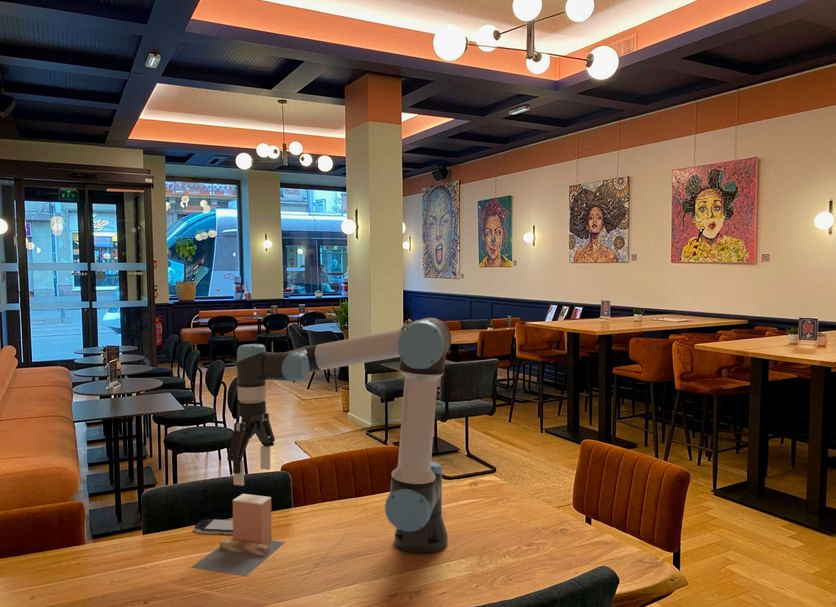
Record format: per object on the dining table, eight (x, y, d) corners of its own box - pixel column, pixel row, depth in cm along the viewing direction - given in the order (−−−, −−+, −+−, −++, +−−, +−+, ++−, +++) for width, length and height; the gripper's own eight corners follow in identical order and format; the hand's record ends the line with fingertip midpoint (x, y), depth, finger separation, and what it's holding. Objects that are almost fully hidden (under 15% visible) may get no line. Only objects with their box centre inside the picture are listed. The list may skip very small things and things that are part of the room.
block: (271, 542, 168) (271, 497, 167) (261, 550, 163) (261, 503, 162) (243, 538, 170) (242, 493, 170) (233, 546, 165) (232, 499, 165)
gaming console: (189, 537, 174) (189, 528, 174) (203, 524, 183) (203, 516, 183) (254, 540, 172) (254, 531, 172) (264, 527, 181) (264, 518, 181)
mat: (285, 545, 168) (285, 542, 168) (246, 579, 149) (246, 576, 149) (235, 537, 173) (235, 535, 173) (191, 570, 153) (191, 567, 153)
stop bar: (269, 552, 162) (269, 545, 162) (265, 555, 160) (265, 548, 160) (224, 545, 166) (224, 538, 166) (220, 549, 164) (219, 541, 164)
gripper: (263, 391, 178) (264, 462, 179) (212, 409, 154) (213, 490, 155) (286, 392, 176) (286, 464, 177) (238, 411, 152) (239, 493, 153)
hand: (252, 476), depth 166 cm, fingers open, 13 cm apart
